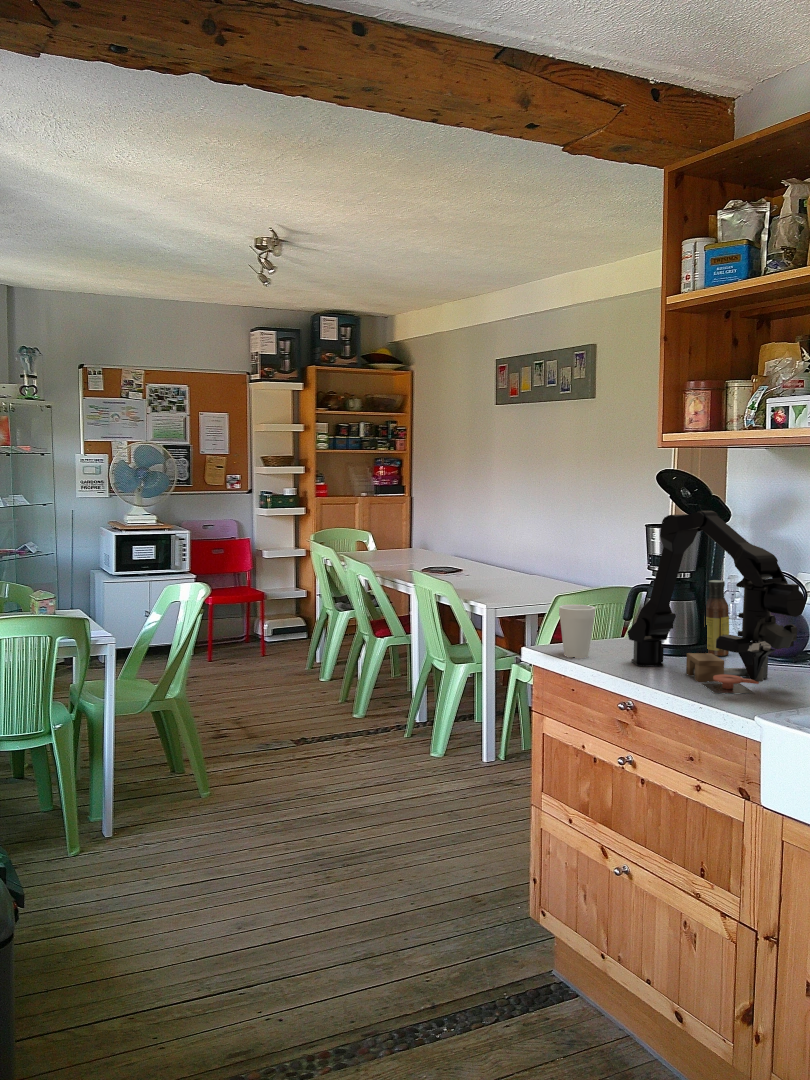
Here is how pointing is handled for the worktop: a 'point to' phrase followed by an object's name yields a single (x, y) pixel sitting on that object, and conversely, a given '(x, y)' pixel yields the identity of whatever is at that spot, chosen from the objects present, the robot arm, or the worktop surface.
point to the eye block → (704, 666)
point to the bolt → (743, 670)
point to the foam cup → (576, 629)
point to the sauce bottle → (716, 616)
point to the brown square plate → (718, 689)
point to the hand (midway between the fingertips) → (753, 679)
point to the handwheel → (736, 679)
